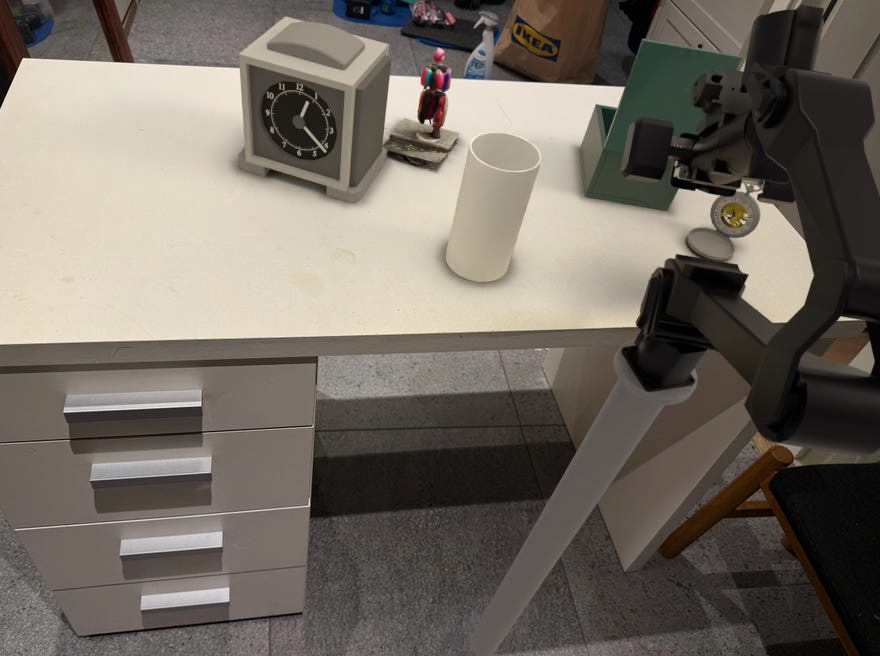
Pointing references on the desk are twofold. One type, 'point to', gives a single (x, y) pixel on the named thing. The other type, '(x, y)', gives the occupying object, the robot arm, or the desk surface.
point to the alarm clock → (315, 106)
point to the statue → (433, 105)
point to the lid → (665, 87)
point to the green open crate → (617, 169)
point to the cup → (491, 205)
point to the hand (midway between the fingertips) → (680, 178)
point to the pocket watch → (726, 225)
